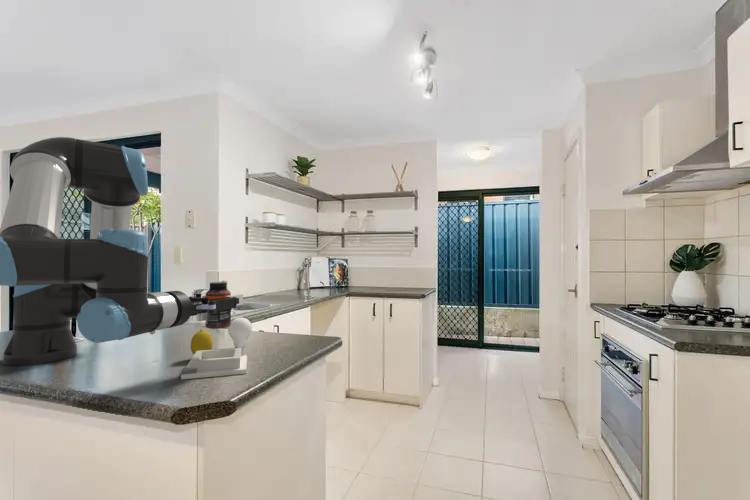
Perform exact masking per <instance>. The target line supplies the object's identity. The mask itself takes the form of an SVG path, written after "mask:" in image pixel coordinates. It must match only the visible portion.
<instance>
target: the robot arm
mask: <svg viewBox="0 0 750 500" xmlns="http://www.w3.org/2000/svg"><path fill="white" fill-rule="evenodd" d="M147 170H148V169H147V162H146V157H145V154H144V153H143V152H142V151H141V150H140V149H136V148H132V147H126V146H125V145H116V144H110V143H104V142H103V143H102V142H97V141H92V140H85V139H78V138H75V137H69V136H68V137H67V136H66V137H64V136H62V137H61V136H57V137H56V136H55V137H49V138H45V139H40V140H39V141H35V142H33V143H30V144H28V145H27V146H25V147H23V148H22V149H20V150H19V152H17V153H16V154H15V156H14V157H13V158H12V160H11V163H10V167H9V173H10V174H9V175H10V176H11V178H12V181H13V182H12V186H11V189H10V192H9V196H8V200H7V204H6V207H5V211H4V215H3V218H2V221H1V224H0V286H3V287H4V286H7V287H14V292H13V294H12V297H13V298H14V299H13V318H12V319H13V321H12V334H11V336H10V338H9V341H8V343H7V345H6V347H5V350H4V352H3V354H2V365H4V366H13V367H14V366H18V367H19V366H29V365H31V366H32V365H39V364H41V365H42V364H46V363H53V362H57V361H63V360H66V359H69V358H73V357H75V356H76V355H77V354H78V345H77V343H76V341H75V338H74V335H73V333H72V330H71V319H74V318H75V319H76V323H77V329H78V331H79V333H80V335H81V336H82V337H83V338H85V340H87V341H89V342H91V343H96V344H100V343H105V342H112V341H122V340H125V339H128V338H132V337H135V336H139V335H143V334H147V333H149V335H155V334H156V331H160V330H166V329H170V328H174V327H179V326H182V325H184V324H185V323H187V322H188V321H189V319H190V317H193V316H197V315H200V314H205V313H207V312H208V313H214V312H217V311H222V310H231V311H232V309H236V308H237V306H238V307H239V306H243V305H244V294H241V293H239V294H234V295H231V296H226V298H216V299H208V298H206V295H202V293H195V297H194V296H191V295H190V296H188V295H187V294H186V293H184V292H183V291H180V290H171V291H170V290H169V291H158V292H157V291H156V292H148V273H149V272H148V270H149V257H150V255H149V251H148V250H149V243H148V242H149V241H148V236H147V234H146V233H145V232H144V231H141V230H137V229H131V219H132V218H131V217H132V211H133V210H132V208H133V206H135V205H137V204H138V203H139V202H140V201H141V200H140V199H141V198H140V197H144V196H147V195H148V191H149V185H148V184H149V183H148V171H147ZM67 188H69V189H78V190H79V189H80V190H84V196H85V197H86V198H87V199H88V200H89V201H90V202H91V210H90V211H91V214H90V217H91V218H90V235H89V238H61V229H62V218H63V217H62V215H63V205H64V203H63V202H64V193H65V190H66V189H67Z"/></svg>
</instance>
